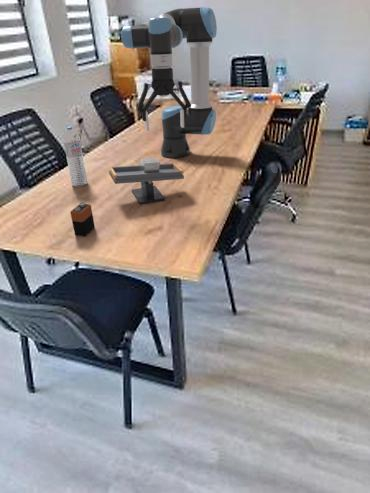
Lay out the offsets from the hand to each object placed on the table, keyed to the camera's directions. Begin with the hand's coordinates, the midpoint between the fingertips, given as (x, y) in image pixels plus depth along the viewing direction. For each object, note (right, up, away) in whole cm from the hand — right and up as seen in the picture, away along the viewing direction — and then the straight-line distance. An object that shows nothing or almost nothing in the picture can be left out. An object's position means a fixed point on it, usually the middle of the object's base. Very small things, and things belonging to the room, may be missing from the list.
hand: (165, 128), depth 152 cm
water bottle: (-39, -17, +25) cm, 49 cm away
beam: (-8, -18, +6) cm, 20 cm away
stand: (-7, -24, +10) cm, 27 cm away
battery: (-27, -40, -14) cm, 50 cm away
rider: (-6, -16, +5) cm, 18 cm away
